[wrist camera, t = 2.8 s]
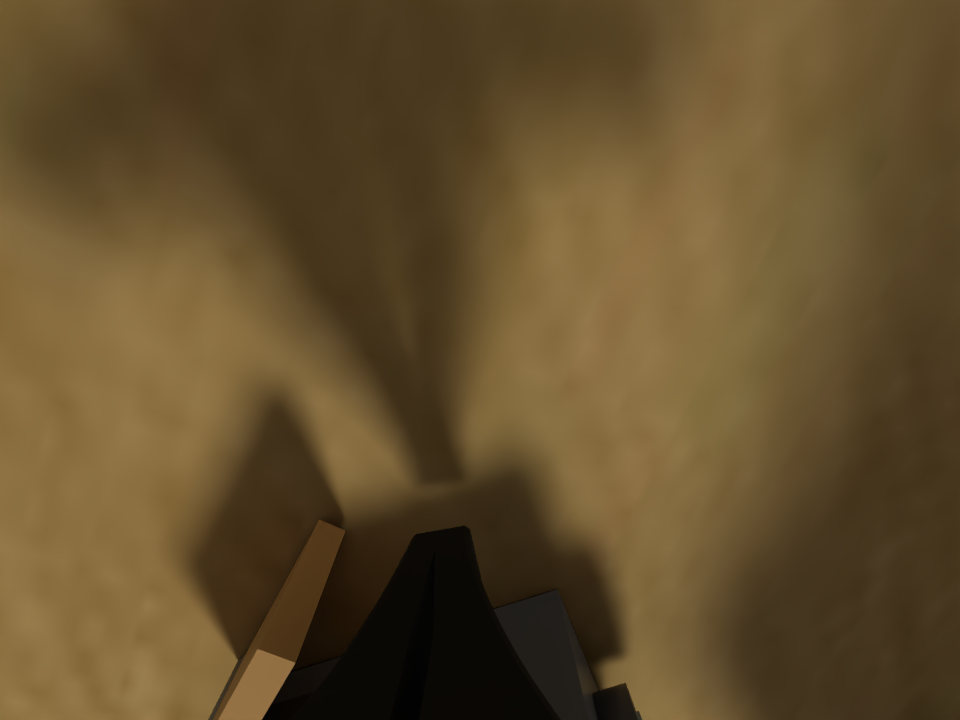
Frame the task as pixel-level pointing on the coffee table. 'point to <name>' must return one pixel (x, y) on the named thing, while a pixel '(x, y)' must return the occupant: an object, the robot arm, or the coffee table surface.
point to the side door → (280, 632)
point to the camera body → (541, 648)
